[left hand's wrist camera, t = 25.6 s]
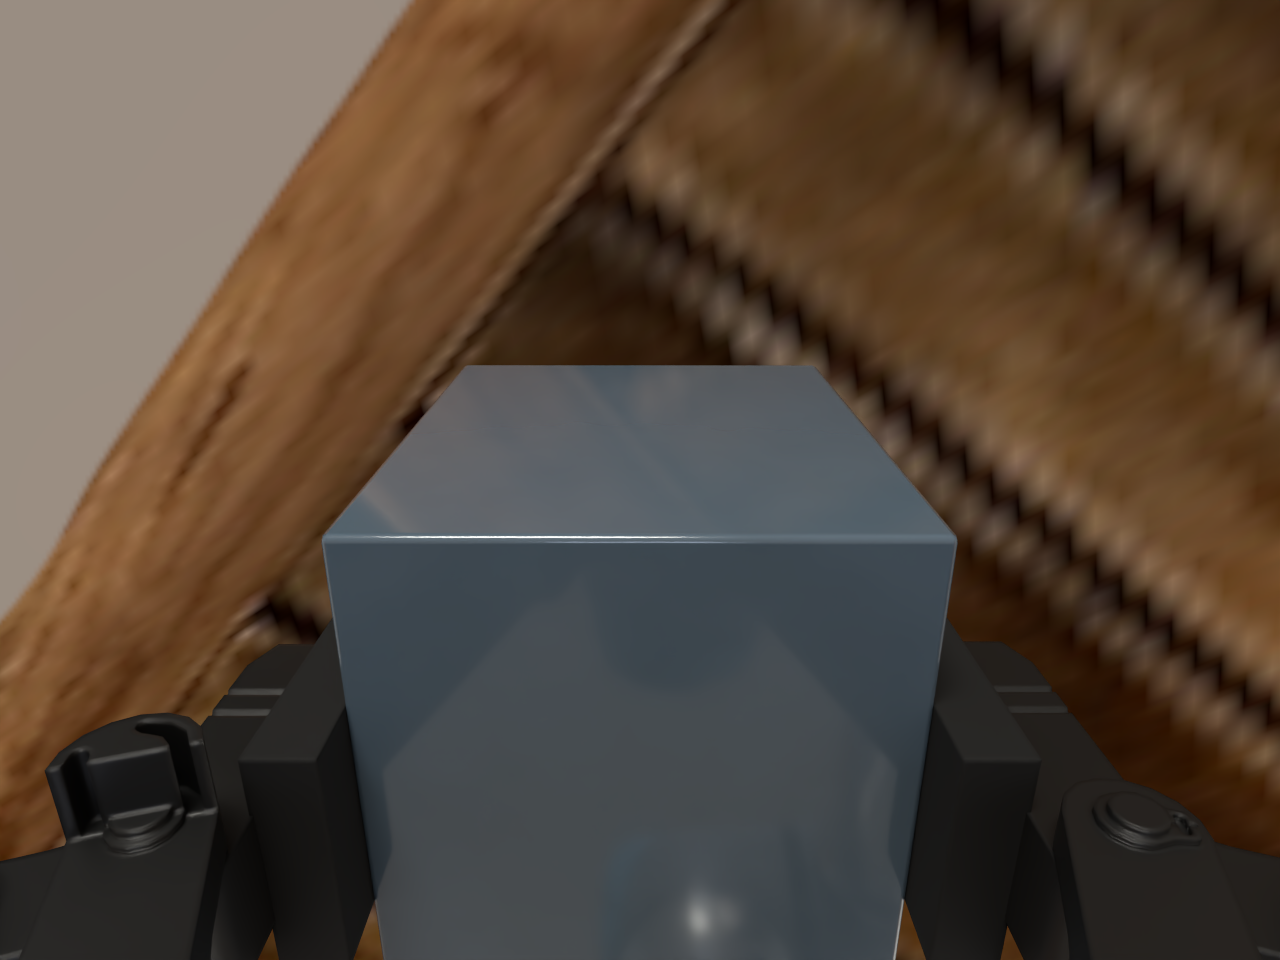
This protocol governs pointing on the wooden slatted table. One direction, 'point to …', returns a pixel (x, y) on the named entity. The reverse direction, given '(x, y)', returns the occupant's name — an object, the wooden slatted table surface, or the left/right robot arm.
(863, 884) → the block
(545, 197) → the wooden slatted table surface
